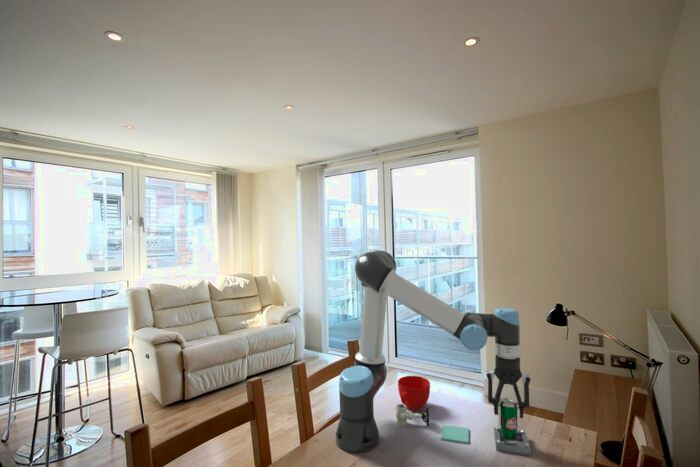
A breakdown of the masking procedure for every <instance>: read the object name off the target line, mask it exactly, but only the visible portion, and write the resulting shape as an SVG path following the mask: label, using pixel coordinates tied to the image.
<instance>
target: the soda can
mask: <svg viewBox="0 0 700 467" xmlns="http://www.w3.org/2000/svg"><path fill="white" fill-rule="evenodd" d="M499 403H500V407H501V426H499V428H500V434H501V436H502V437H501V438H503V439H505V440H507V441H508V440H509V441H514V440H517V439H516V438H517V430H518V429H517V405H518V404H517V402H516V401H515V399H513V398H510V397H503V398H501V400H500V401H499Z"/></svg>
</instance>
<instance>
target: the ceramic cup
mask: <svg viewBox="0 0 700 467" xmlns="http://www.w3.org/2000/svg"><path fill="white" fill-rule="evenodd" d="M397 387H398V394H399V398H400V401H401V404H404V405H406V406H407V409H409V410H410V411H419V410H421V409H423V408H424V406H425V405H426V404H427V403H428V401H429V398H430V392H431V383H430V380H429V379H427V378H426V377H423V376H420V375H419V376H418V375H405V376H402V377H400V378H399V379H398V380H397Z"/></svg>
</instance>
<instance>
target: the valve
mask: <svg viewBox="0 0 700 467" xmlns="http://www.w3.org/2000/svg"><path fill="white" fill-rule="evenodd" d="M395 406H396V407H395V408H396V413H395V416H396V424H397V425H398V426H400V427H406V426H407V425H408V420H409V421H412V420H413V419H414V418H415V419H420V418H421V420H422V421H423V422H424V423H425V424H426V426H427V427H430V412H429V411H430V408H429V406H425V409H424V410H423V411H422V412H421V413H419V412H418V413H417V412H412V411H413V410H409V411H408V410H407V409H408V408H407V406H406V405H405V404H403V403H399V404H397V405H395Z"/></svg>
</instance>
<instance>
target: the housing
mask: <svg viewBox="0 0 700 467" xmlns="http://www.w3.org/2000/svg"><path fill="white" fill-rule="evenodd" d="M493 435H494V436H493V437H494V442H495V450H496V452H502V453H509V454H510V453H511V454H514V455H515V454H517V455H521V456H522V455H523V456H529V457H531V455H532V453H531V452H532V451H531V448H532V447H531V445H530V442H529V438H528V436H527V432H526V430H524V429H517V438H516V439H515V440H518V441H521V443H522V444H520V443H514V442H508V441H502V440H501V438H503V437H502V436H501V434H500V426H494V427H493Z"/></svg>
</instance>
